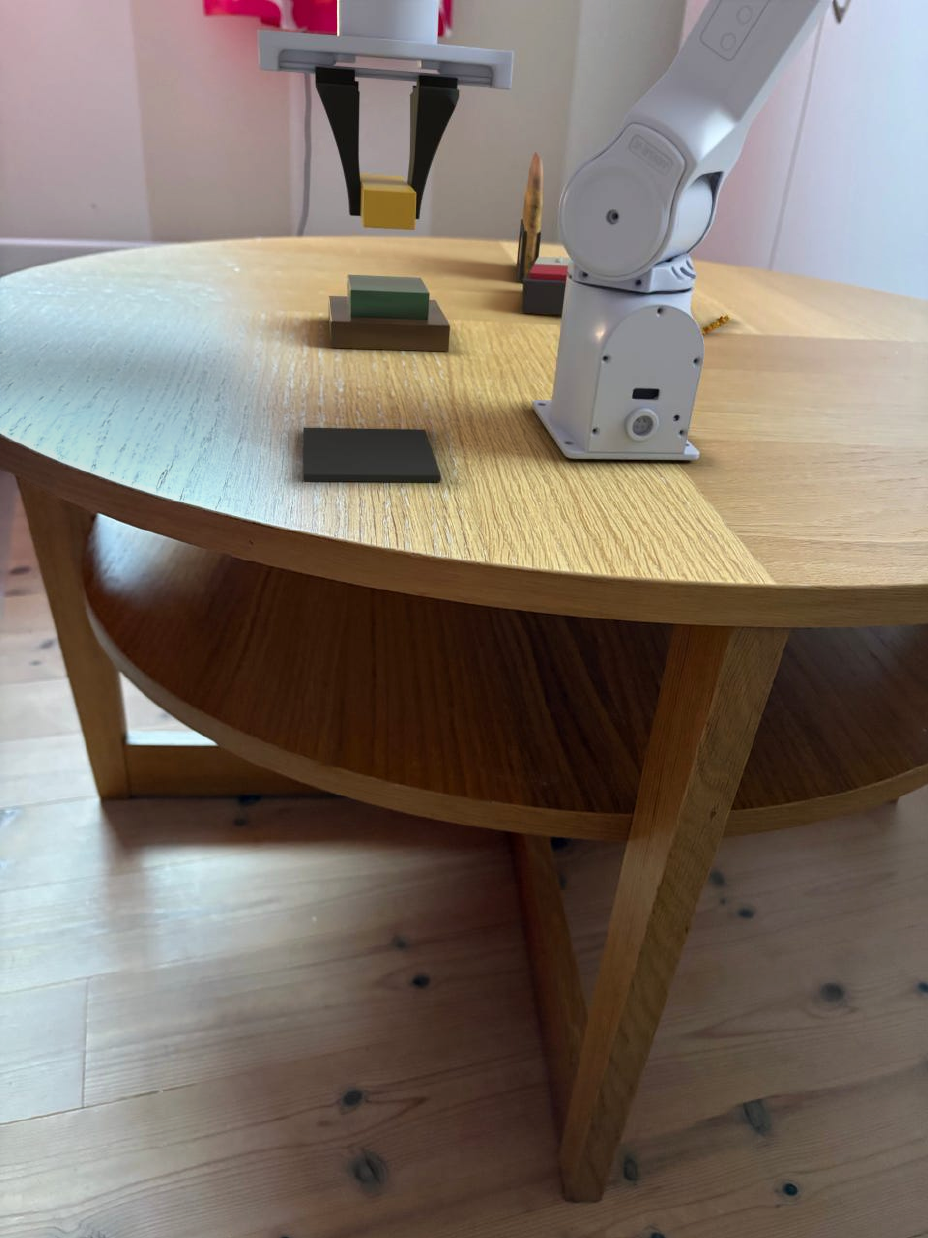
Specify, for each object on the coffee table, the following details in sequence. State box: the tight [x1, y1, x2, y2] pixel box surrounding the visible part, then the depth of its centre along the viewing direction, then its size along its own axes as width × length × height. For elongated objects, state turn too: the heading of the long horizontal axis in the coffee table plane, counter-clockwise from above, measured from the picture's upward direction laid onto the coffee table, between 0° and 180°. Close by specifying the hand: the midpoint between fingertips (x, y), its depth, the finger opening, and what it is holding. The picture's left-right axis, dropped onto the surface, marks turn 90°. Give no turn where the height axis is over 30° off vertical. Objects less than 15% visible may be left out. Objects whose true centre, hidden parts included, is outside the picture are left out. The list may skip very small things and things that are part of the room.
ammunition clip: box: [516, 151, 544, 284], centre depth 97 cm, size 11×2×12 cm, turn 178°
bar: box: [359, 172, 416, 231], centre depth 55 cm, size 10×3×2 cm, turn 8°
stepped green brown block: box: [327, 274, 451, 352], centre depth 71 cm, size 9×9×4 cm
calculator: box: [521, 256, 572, 316], centre depth 85 cm, size 11×4×15 cm
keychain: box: [700, 314, 731, 335], centre depth 82 cm, size 8×1×1 cm, turn 149°
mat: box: [302, 427, 442, 483], centre depth 48 cm, size 7×7×1 cm
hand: (384, 215), depth 56 cm, fingers closed on bar, 3 cm apart
